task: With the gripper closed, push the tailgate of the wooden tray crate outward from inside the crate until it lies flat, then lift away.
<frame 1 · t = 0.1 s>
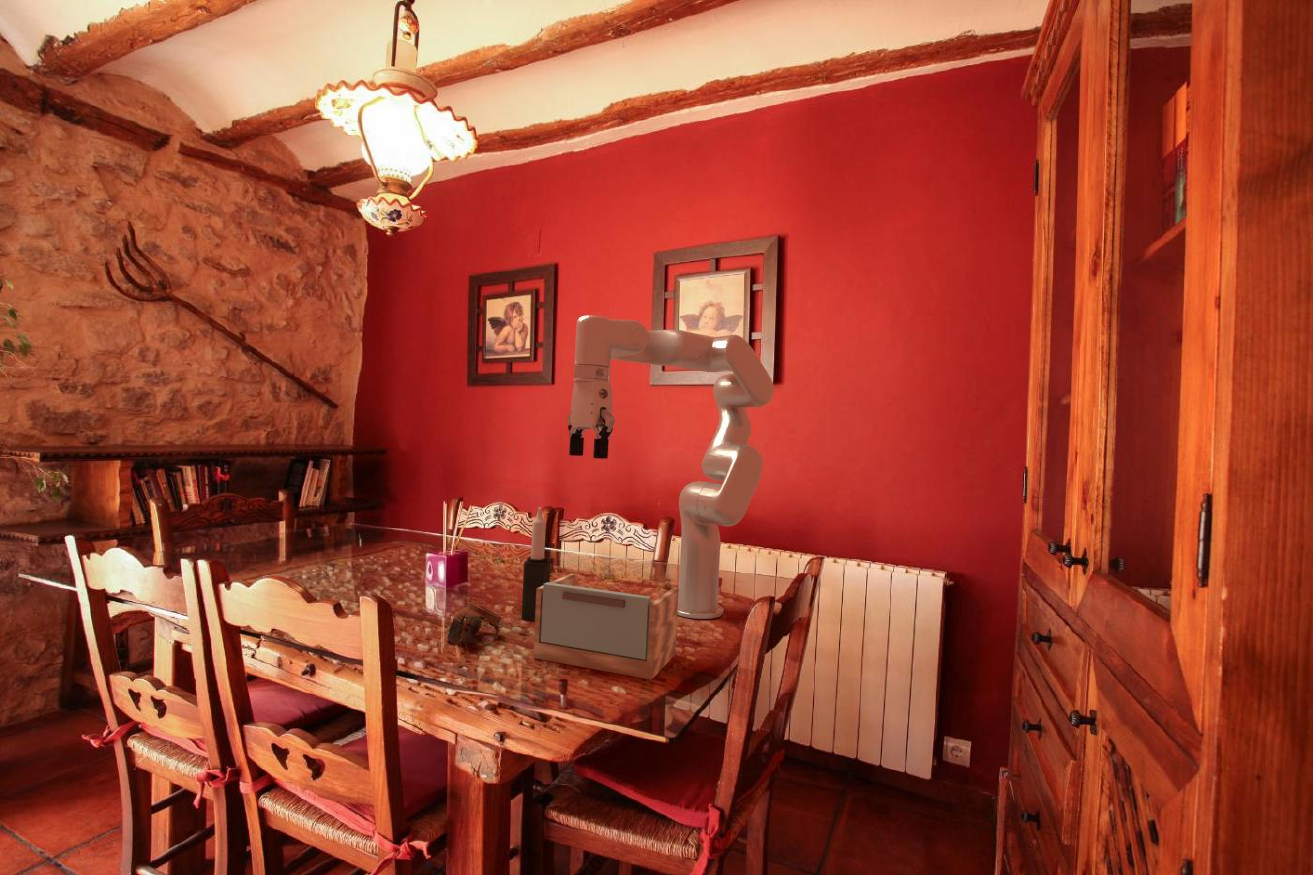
hand: (587, 457, 132), 37 cm above the table, tool pointing down, fingers open, 9 cm apart
wooden tray crate: (606, 655, 119), on the table
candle: (534, 618, 141), on the table
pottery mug: (472, 642, 124), on the table
tailgate: (593, 620, 113), point 9 cm above the table, hinge at 0.0°
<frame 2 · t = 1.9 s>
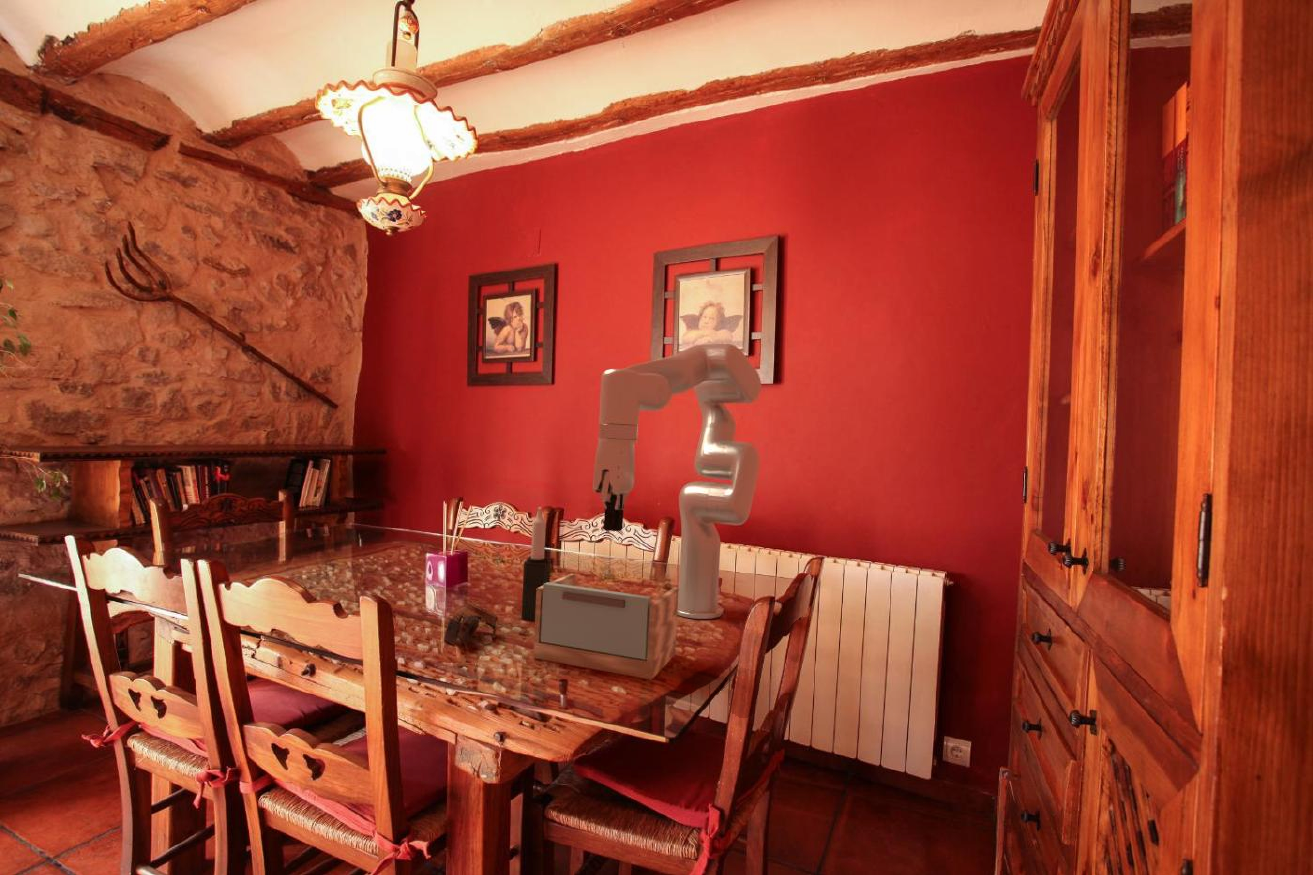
hand: (613, 529, 120), 24 cm above the table, tool pointing down, fingers closed
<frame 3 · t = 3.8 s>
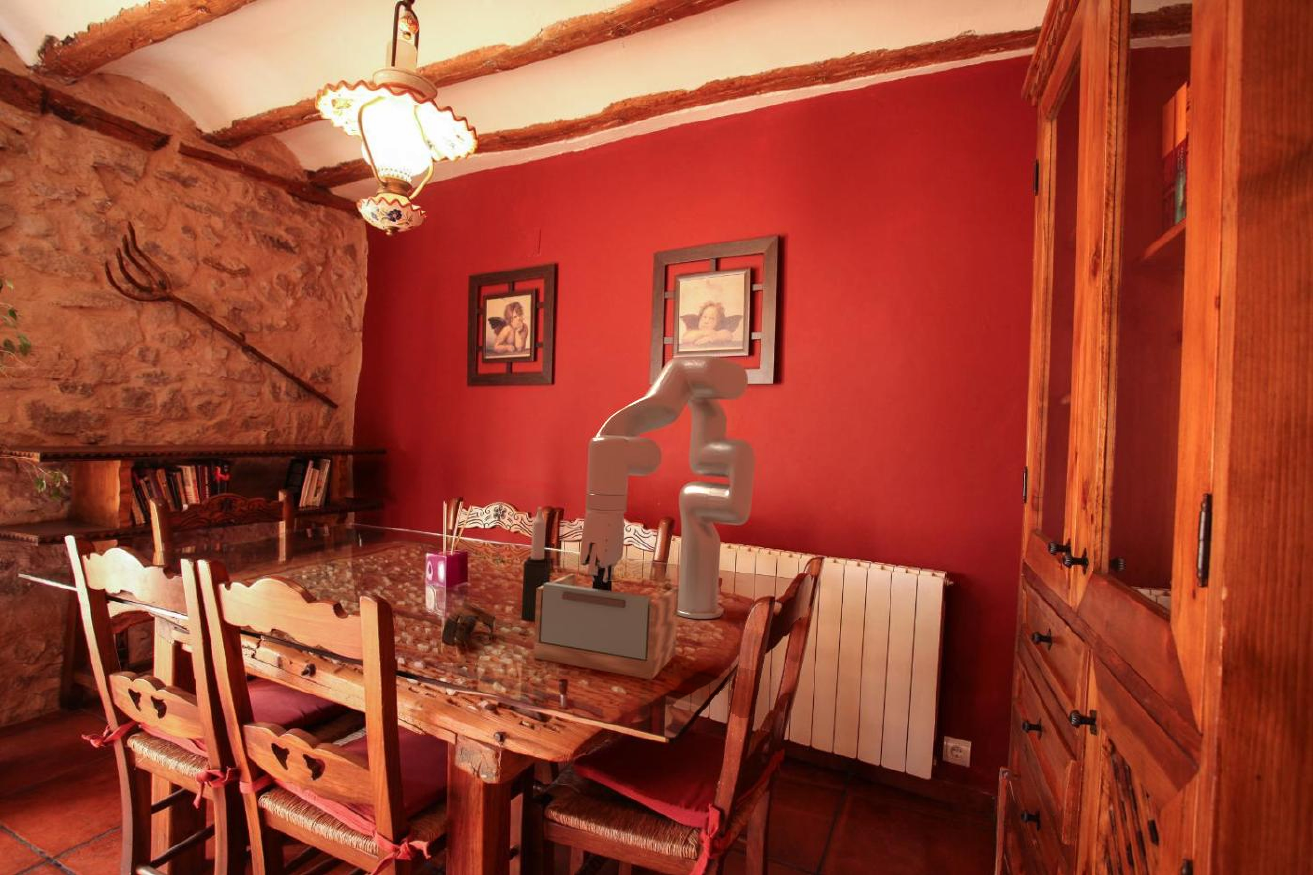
hand: (601, 601, 116), 11 cm above the table, tool pointing down, fingers closed
tailgate: (593, 620, 113), point 9 cm above the table, hinge at 0.2°, touching gripper
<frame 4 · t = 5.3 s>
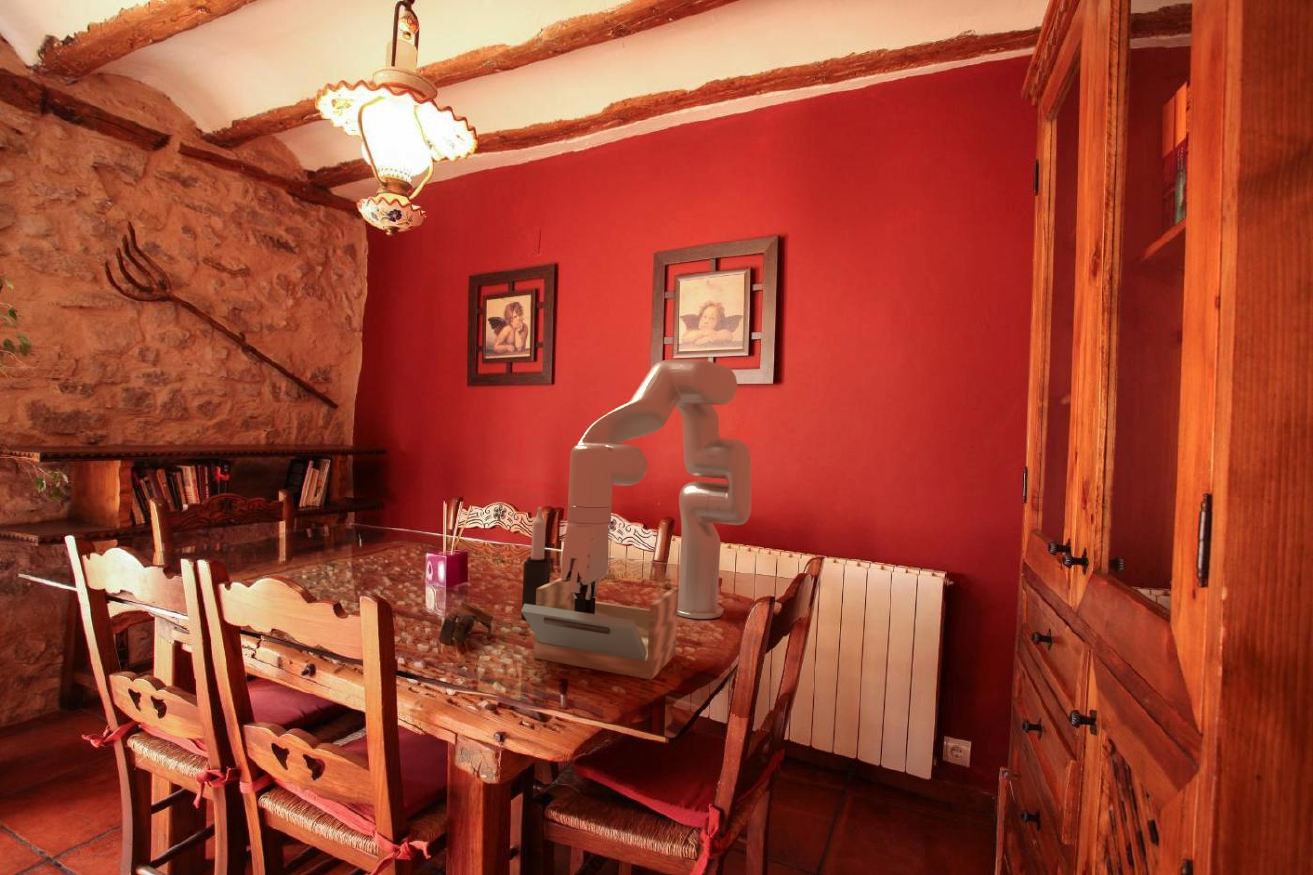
hand: (584, 620, 109), 10 cm above the table, tool pointing down, fingers closed
tailgate: (583, 633, 109), point 7 cm above the table, hinge at 44.1°, touching gripper
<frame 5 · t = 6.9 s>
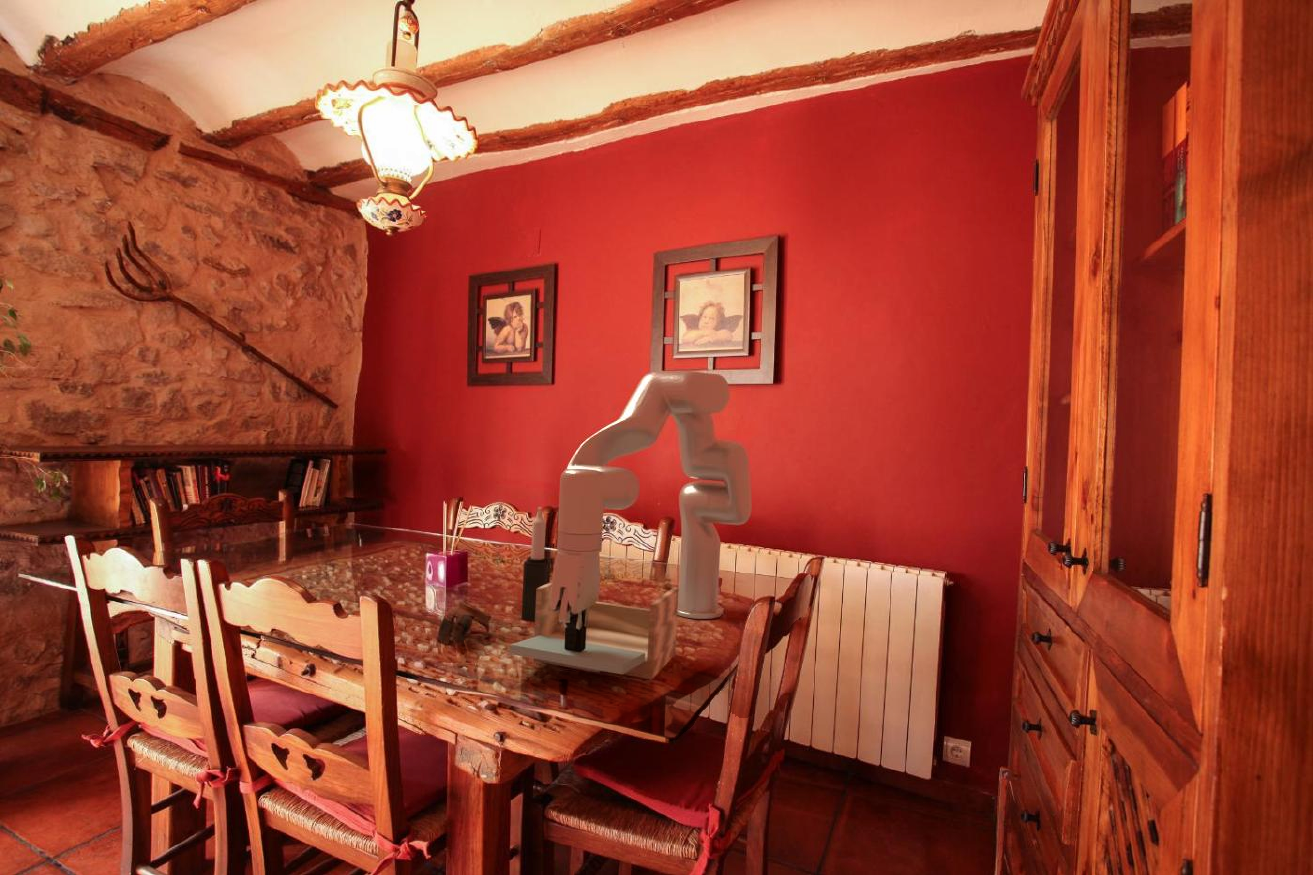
hand: (574, 649, 106), 6 cm above the table, tool pointing down, fingers closed
tailgate: (578, 655, 108), point 4 cm above the table, hinge at 82.1°, touching gripper
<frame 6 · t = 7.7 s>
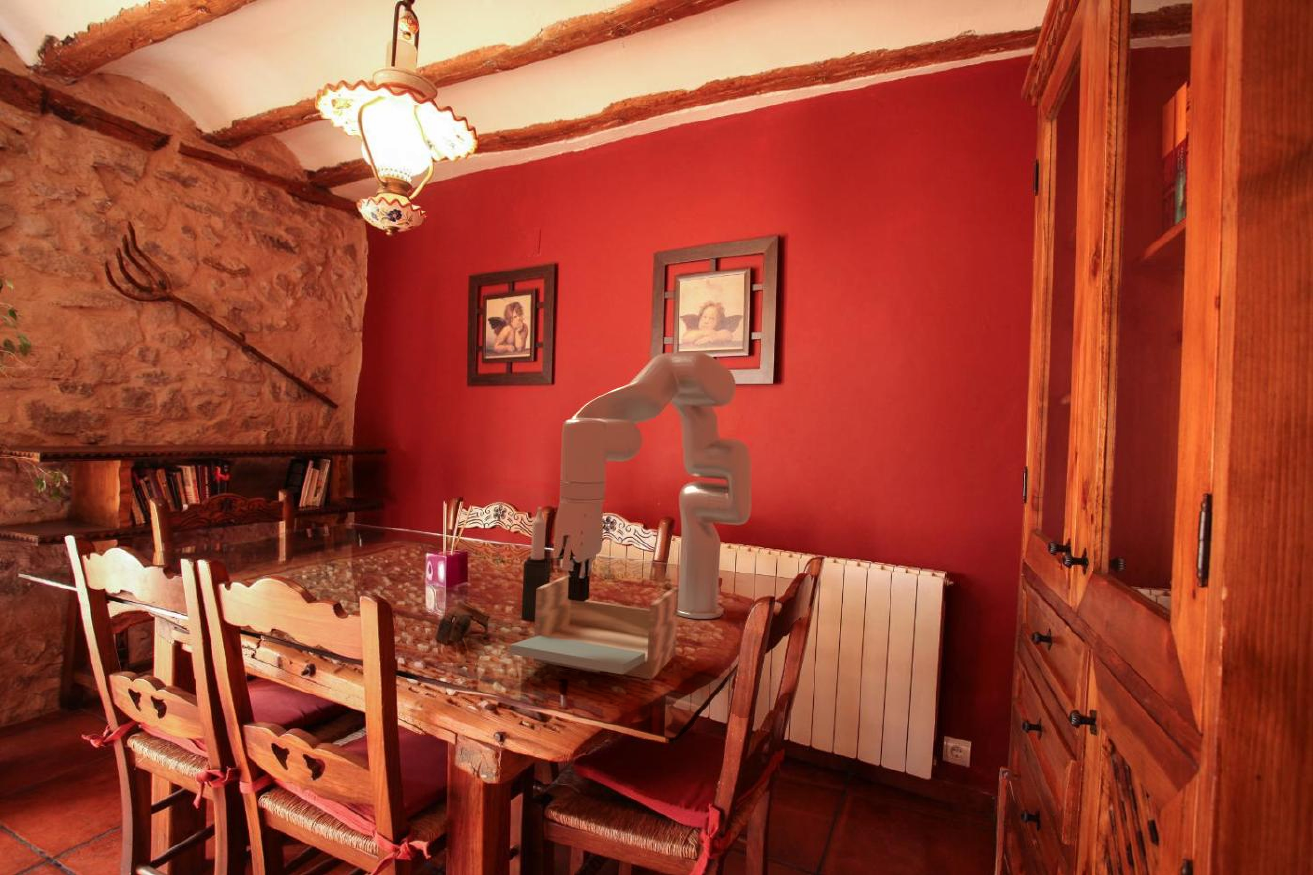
hand: (578, 599, 106), 14 cm above the table, tool pointing down, fingers closed
tailgate: (578, 655, 108), point 4 cm above the table, hinge at 82.1°
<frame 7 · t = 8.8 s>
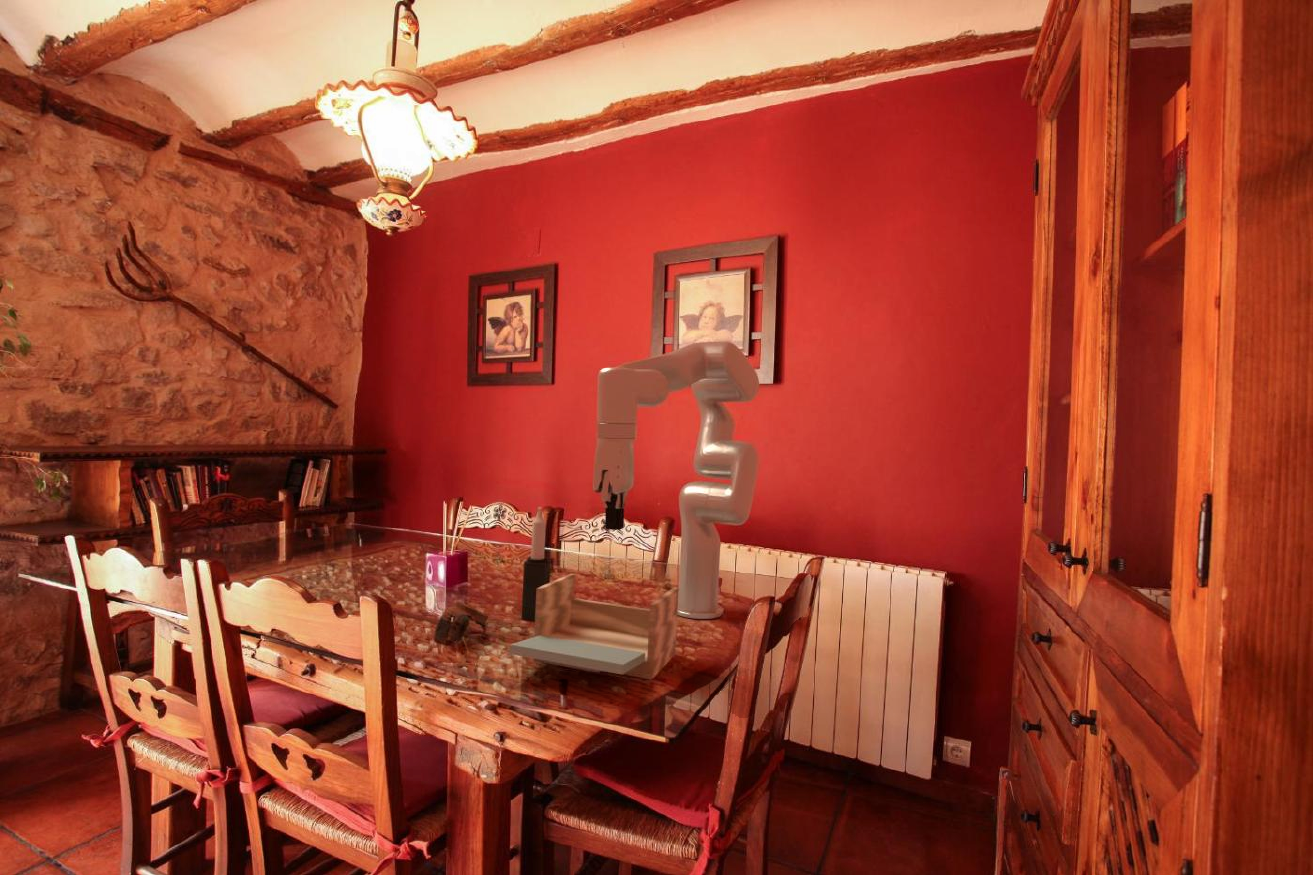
hand: (614, 528, 120), 24 cm above the table, tool pointing down, fingers closed
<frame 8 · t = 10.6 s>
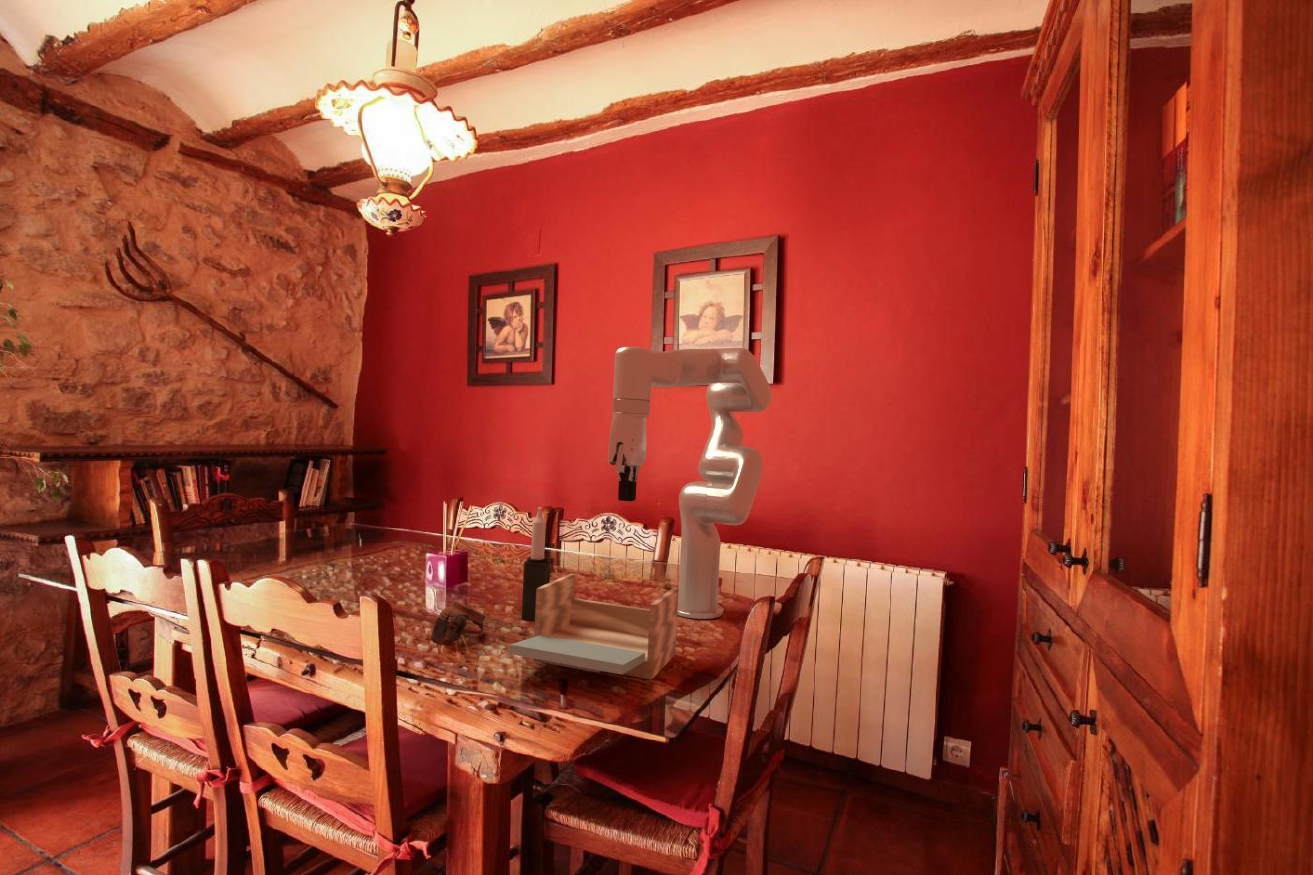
hand: (626, 500, 126), 29 cm above the table, tool pointing down, fingers closed
at the end: tailgate at +82° (first picture: +0°); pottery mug moved 3.4 cm from its start; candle moved 0.2 cm from its start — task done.
